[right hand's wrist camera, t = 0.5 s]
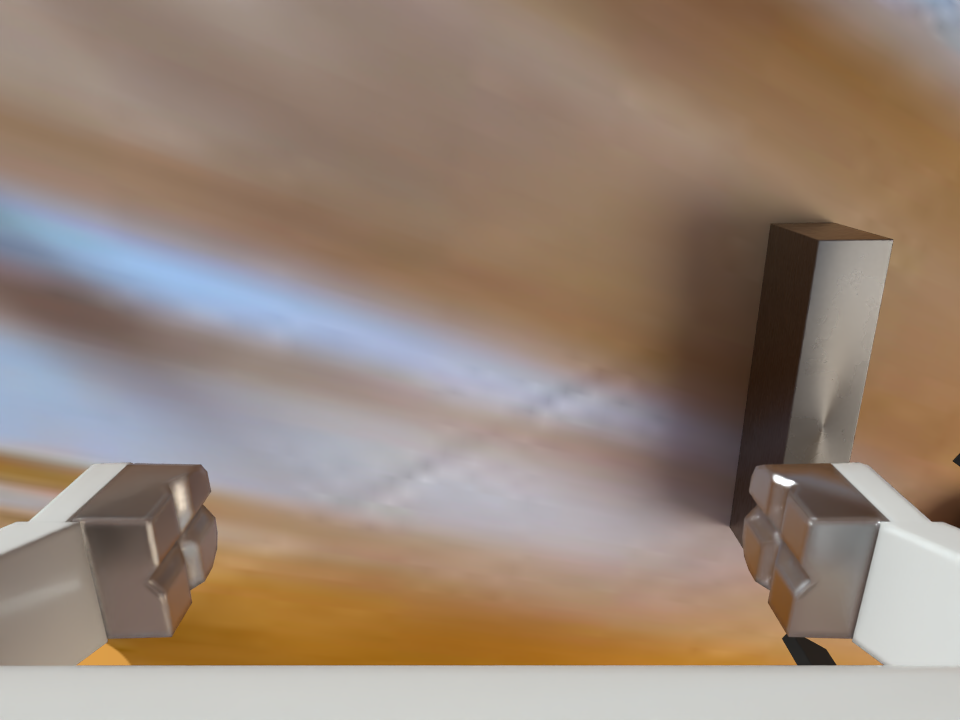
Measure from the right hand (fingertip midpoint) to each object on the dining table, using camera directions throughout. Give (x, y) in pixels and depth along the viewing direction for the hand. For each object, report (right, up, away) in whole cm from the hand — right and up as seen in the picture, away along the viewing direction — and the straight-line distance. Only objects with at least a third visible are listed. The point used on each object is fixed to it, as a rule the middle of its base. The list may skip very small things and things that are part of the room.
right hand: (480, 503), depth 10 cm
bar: (+25, 0, +46) cm, 53 cm away
